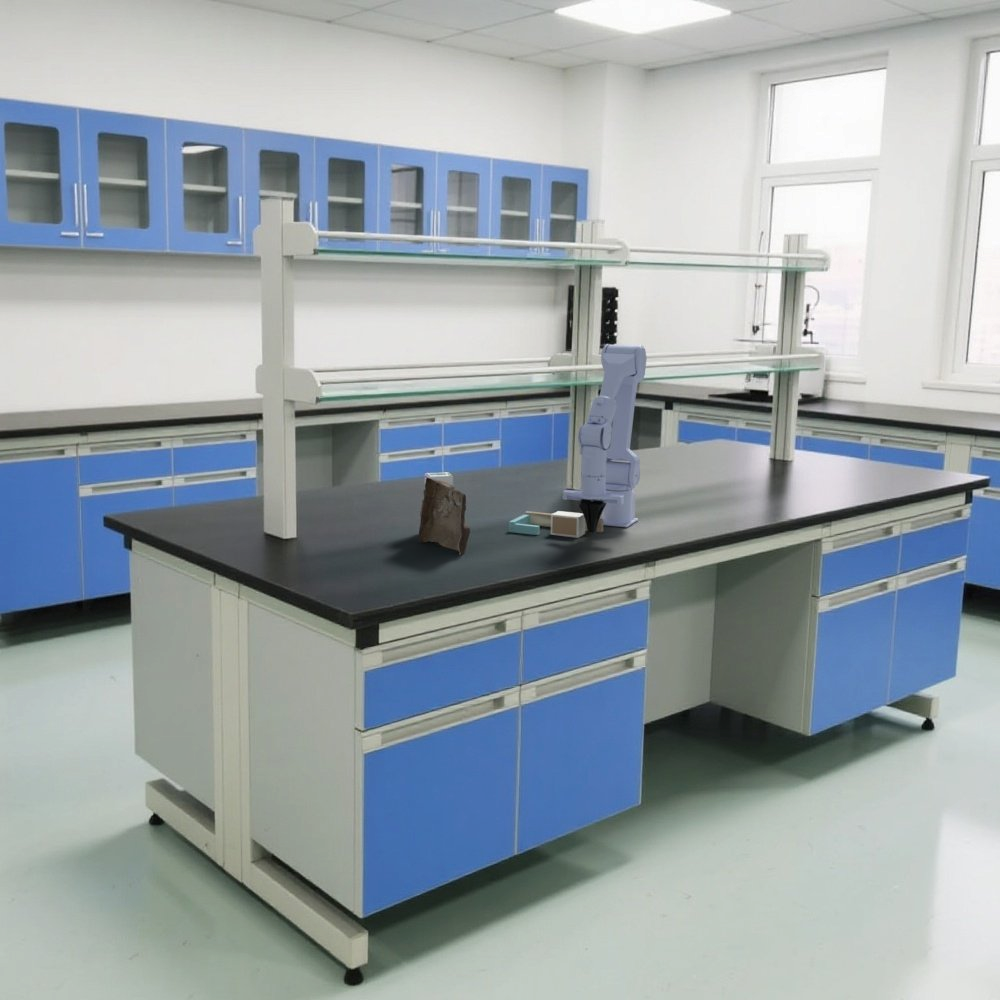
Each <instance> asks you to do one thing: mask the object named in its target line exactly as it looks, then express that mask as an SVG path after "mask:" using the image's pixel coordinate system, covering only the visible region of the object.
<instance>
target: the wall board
mask: <svg viewBox="0 0 1000 1000" xmlns="http://www.w3.org/2000/svg"><path fill="white" fill-rule="evenodd" d="M524 514H528V515H530V525H536V526H540V527H548V528H551V514H552V513H550V512H549V513H547V512H538V511H528V510H527V511H525V512H524ZM585 532H588V529H587V524H586V521H585ZM603 532H604V525H603V519H602V518H599V521H598V525H597V529H596V532H595V533H603Z"/></svg>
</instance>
